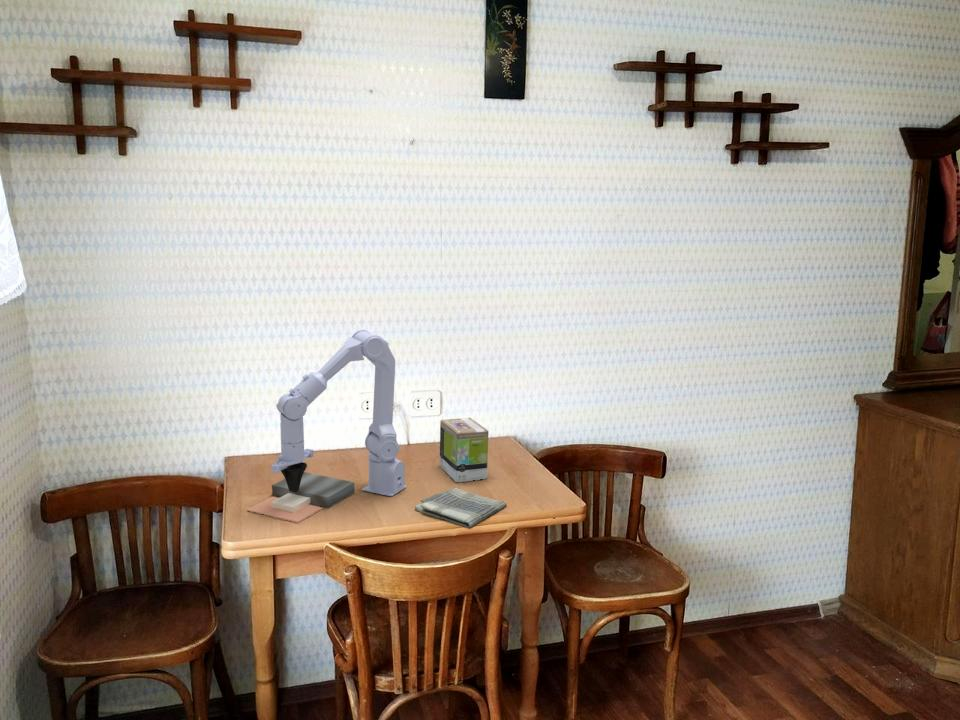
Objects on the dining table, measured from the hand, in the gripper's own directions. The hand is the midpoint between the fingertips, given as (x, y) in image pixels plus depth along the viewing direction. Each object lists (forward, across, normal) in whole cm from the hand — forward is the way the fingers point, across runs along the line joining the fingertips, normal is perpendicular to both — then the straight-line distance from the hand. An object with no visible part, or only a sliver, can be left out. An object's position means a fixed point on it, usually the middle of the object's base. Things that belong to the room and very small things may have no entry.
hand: (293, 491), depth 199 cm
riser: (+4, -8, 0) cm, 9 cm away
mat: (+4, +4, 0) cm, 5 cm away
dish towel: (+5, -18, +39) cm, 43 cm away
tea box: (+4, -42, +28) cm, 51 cm away
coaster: (+3, +1, 0) cm, 4 cm away
